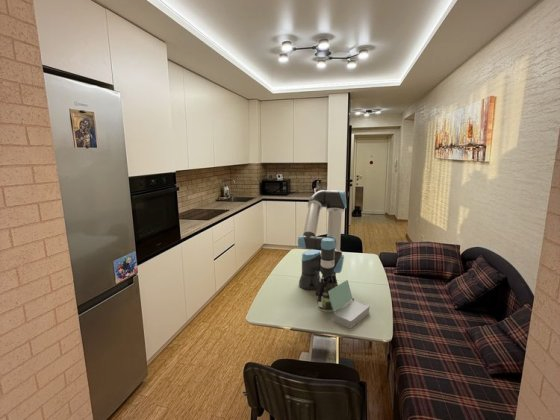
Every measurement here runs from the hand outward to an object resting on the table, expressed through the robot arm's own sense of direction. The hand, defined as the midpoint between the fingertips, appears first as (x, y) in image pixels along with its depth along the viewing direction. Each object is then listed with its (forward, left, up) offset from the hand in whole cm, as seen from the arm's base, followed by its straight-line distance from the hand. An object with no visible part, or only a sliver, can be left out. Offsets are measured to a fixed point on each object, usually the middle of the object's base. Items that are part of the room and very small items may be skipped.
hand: (326, 302), depth 171 cm
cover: (+9, 0, +8) cm, 12 cm away
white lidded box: (+16, 0, -3) cm, 16 cm away
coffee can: (0, 0, -3) cm, 3 cm away
